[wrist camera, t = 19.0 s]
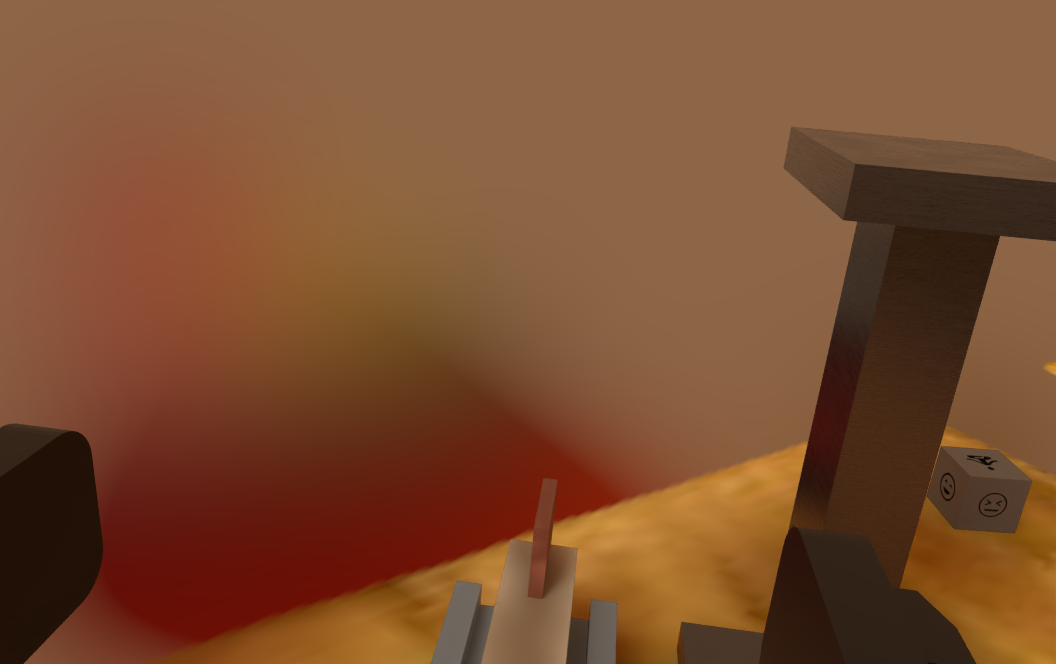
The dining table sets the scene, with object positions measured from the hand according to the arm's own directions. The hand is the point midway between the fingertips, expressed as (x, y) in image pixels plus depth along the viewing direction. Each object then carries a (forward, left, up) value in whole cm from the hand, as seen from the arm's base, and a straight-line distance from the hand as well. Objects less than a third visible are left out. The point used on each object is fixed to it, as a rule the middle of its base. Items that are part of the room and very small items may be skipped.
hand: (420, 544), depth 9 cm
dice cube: (+35, +56, -30) cm, 72 cm away
